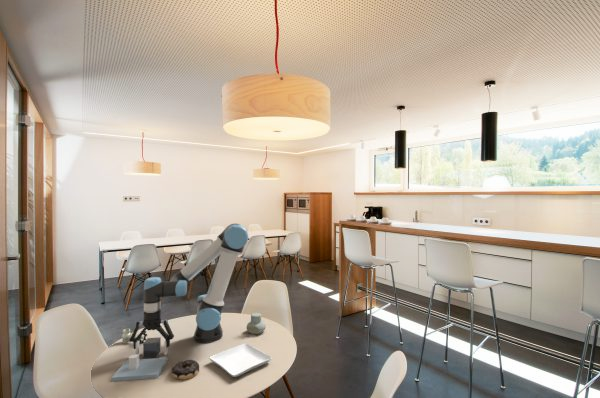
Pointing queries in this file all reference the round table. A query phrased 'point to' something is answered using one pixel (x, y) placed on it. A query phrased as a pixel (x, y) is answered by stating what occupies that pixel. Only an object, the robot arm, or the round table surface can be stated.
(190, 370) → the donut
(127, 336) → the valve
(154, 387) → the round table surface
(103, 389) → the round table surface
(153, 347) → the brushed metal cube
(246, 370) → the salad plate
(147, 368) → the board
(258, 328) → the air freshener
